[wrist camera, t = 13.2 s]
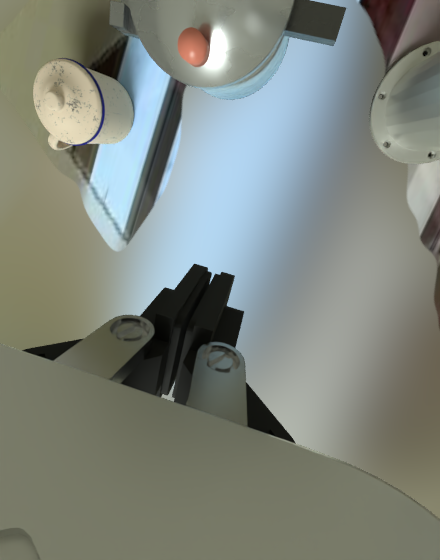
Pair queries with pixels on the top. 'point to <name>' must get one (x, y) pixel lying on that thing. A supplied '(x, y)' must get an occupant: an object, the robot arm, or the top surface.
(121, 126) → the teacup with lid
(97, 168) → the top surface
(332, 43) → the cooker pot
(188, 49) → the lid
